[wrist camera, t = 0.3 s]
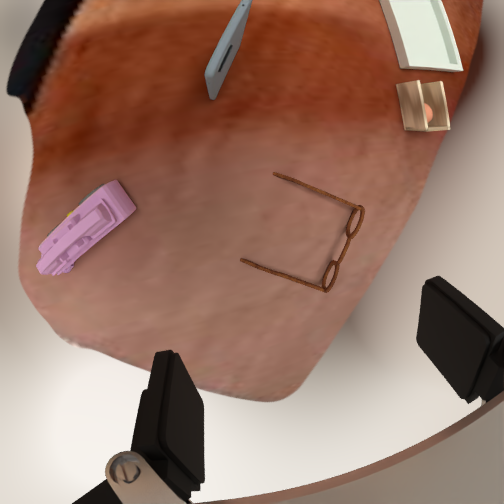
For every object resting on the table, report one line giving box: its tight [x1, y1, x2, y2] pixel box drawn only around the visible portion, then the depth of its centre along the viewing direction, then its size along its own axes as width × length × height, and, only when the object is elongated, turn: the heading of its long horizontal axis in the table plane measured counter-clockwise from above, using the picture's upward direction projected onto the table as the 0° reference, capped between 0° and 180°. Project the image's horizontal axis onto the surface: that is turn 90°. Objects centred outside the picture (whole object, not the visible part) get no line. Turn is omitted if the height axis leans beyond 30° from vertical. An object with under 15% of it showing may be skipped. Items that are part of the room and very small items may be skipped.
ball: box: [424, 103, 433, 123], centre depth 33 cm, size 3×3×3 cm
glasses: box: [240, 172, 365, 293], centre depth 38 cm, size 13×13×5 cm
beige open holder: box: [396, 81, 450, 131], centre depth 33 cm, size 7×5×5 cm
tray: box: [379, 0, 463, 72], centre depth 28 cm, size 18×12×2 cm, turn 13°
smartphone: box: [205, 0, 252, 100], centre depth 24 cm, size 8×1×15 cm, turn 158°
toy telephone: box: [36, 180, 137, 276], centre depth 32 cm, size 18×6×10 cm, turn 121°
